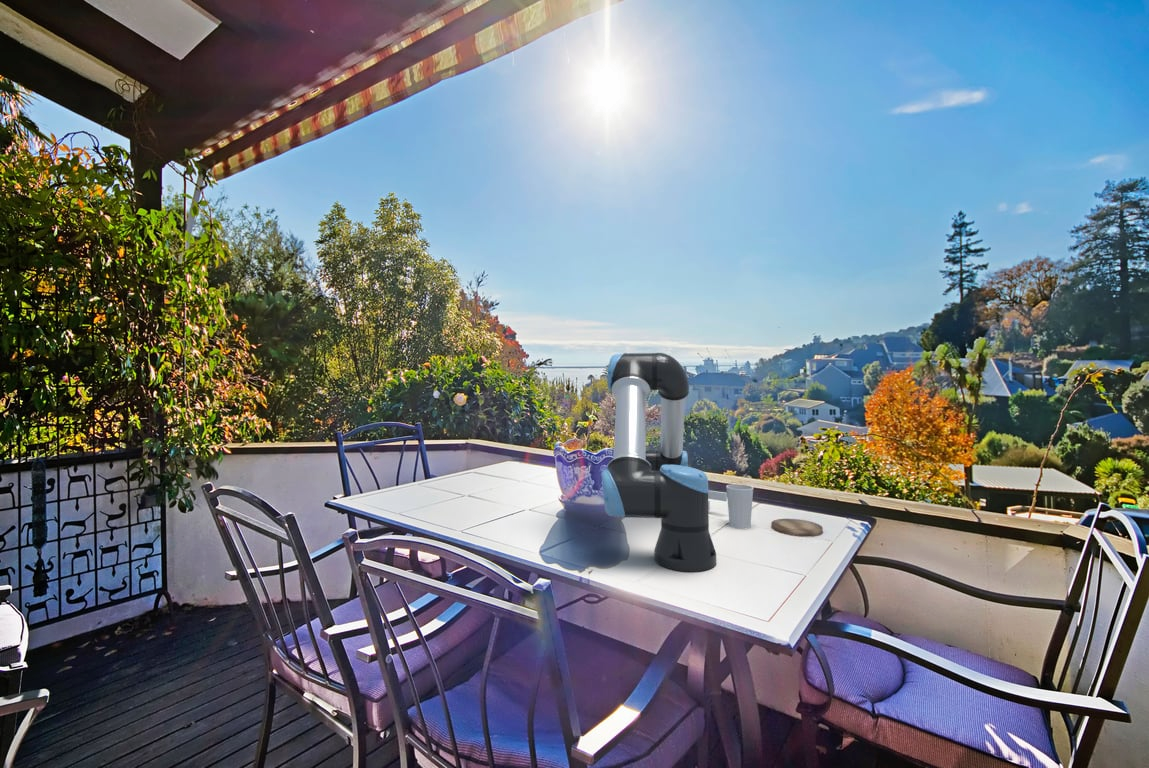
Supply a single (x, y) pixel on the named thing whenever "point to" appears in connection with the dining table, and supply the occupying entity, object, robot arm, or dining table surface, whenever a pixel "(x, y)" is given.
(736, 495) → the cup
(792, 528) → the disc
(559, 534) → the dining table surface
